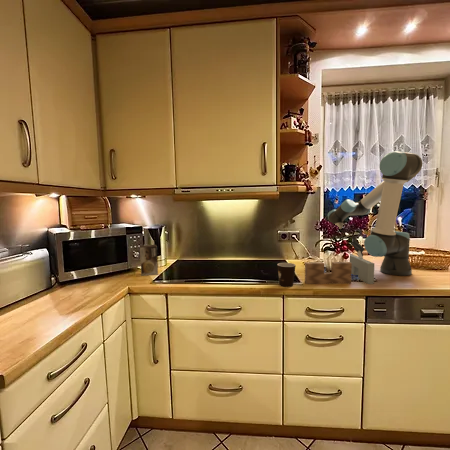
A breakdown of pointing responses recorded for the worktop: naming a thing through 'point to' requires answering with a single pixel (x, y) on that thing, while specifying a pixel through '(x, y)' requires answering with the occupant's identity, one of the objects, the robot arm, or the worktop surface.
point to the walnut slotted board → (317, 275)
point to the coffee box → (148, 260)
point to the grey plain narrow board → (362, 269)
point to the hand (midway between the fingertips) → (350, 261)
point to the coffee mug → (286, 274)
